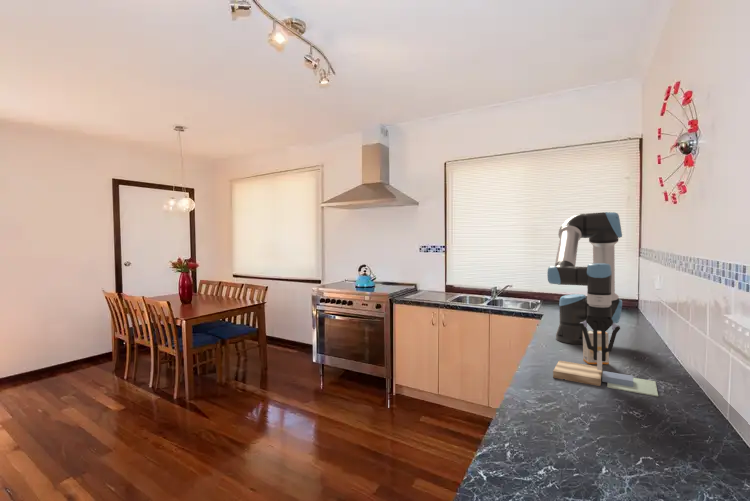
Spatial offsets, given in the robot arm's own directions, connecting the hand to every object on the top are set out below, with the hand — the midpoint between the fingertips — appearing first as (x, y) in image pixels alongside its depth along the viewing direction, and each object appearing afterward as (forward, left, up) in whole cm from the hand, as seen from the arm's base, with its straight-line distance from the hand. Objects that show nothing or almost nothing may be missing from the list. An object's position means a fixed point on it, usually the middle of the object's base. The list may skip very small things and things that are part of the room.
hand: (599, 369), depth 132 cm
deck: (0, -7, -4) cm, 8 cm away
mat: (0, +10, -4) cm, 10 cm away
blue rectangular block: (0, +6, -3) cm, 6 cm away
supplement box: (-20, -2, -4) cm, 20 cm away
